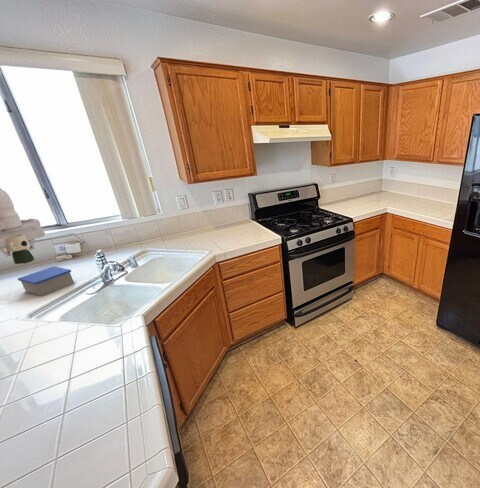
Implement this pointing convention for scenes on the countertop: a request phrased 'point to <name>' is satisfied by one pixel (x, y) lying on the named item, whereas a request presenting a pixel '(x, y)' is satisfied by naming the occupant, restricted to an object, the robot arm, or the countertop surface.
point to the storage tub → (46, 280)
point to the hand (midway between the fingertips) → (20, 252)
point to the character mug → (19, 249)
